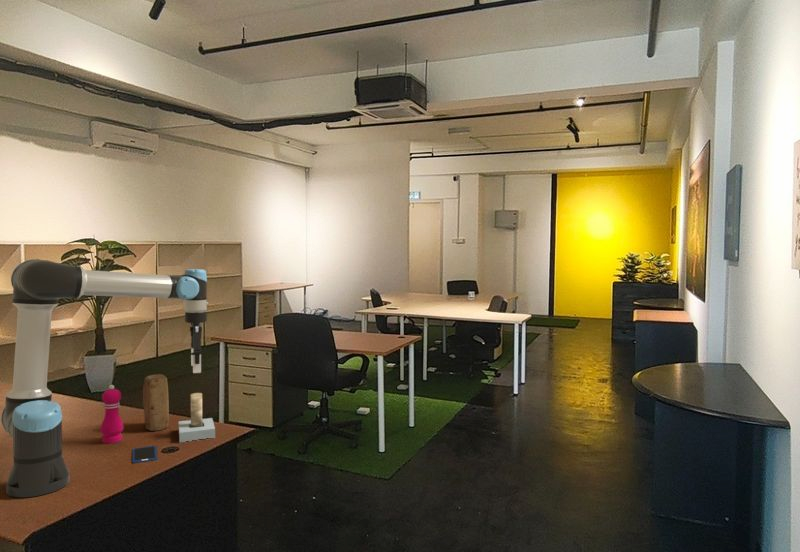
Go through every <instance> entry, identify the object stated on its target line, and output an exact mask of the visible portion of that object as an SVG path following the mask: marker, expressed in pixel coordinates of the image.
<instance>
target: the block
mask: <svg viewBox="0 0 800 552" xmlns="http://www.w3.org/2000/svg"><path fill="white" fill-rule="evenodd" d="M142 387H143V388H142V401H143V402H142V405H143V414H144V415H143V416H144V425H145V428H146V429H147V430H148V431H153V432H157V431H162V430H164V429H166V428H168V426H169V419H170V418H169V417H170V415H169V414H170V413H169V412H170V409H169V408H170V406H169V403H170V402H169V401H170V400H169V383H168V377H167V376H166V375H164V374H161V373H158V374H151V375H147V376H146V377H145V378H144V380H143V385H142Z"/></svg>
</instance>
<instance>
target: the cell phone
mask: <svg viewBox="0 0 800 552" xmlns="http://www.w3.org/2000/svg"><path fill="white" fill-rule="evenodd" d="M157 452H158V451H157V446H156V445H150V446H141V447H136V448H135V447H134V448H132V453H131V455H132V457H131V458H132V461H131V462H132V464H139V463H146V462H147V461H148V462H153V461H154V460H155V461H157V460H158V453H157ZM155 461H154V462H155ZM148 462H147V463H148Z"/></svg>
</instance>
